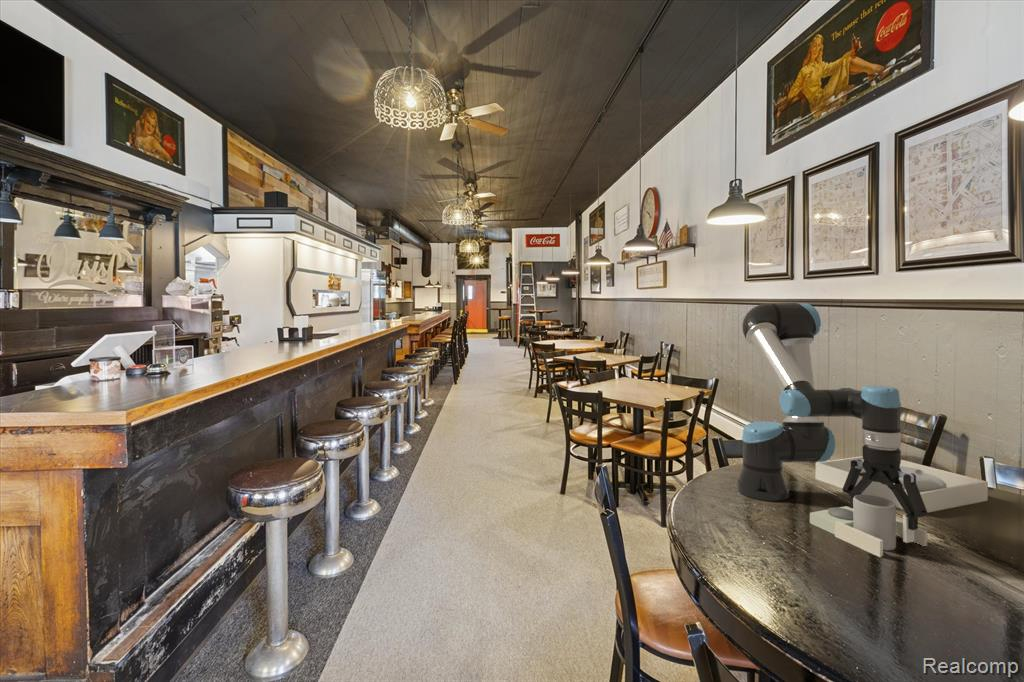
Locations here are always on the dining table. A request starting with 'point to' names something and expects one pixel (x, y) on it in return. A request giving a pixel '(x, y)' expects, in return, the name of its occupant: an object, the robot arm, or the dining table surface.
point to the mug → (876, 518)
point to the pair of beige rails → (842, 527)
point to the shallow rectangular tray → (955, 494)
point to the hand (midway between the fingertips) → (882, 531)
